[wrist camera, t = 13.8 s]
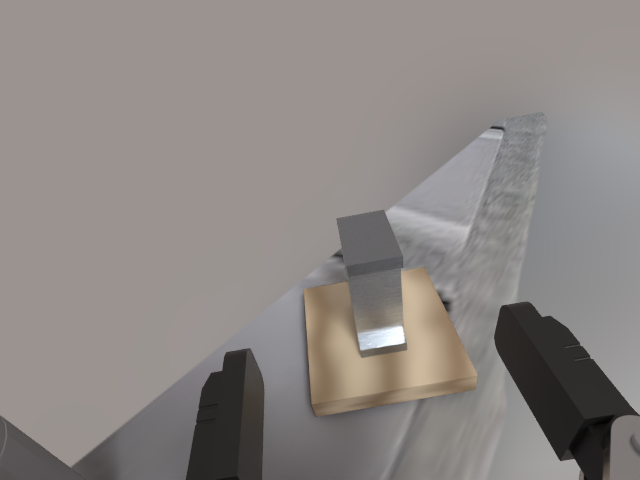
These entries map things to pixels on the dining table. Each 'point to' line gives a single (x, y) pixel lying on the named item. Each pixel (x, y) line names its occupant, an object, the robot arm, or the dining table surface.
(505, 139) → the dining table surface
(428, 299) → the birch stand
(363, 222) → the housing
